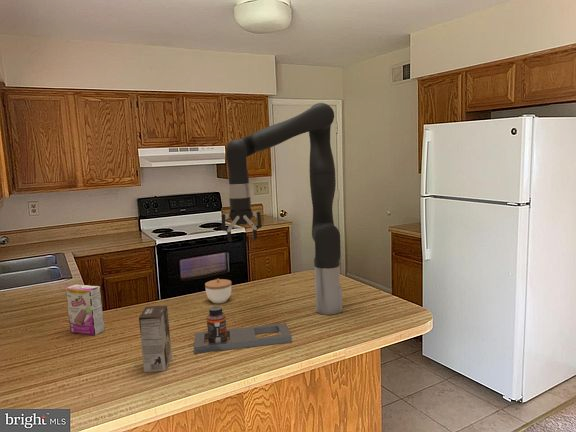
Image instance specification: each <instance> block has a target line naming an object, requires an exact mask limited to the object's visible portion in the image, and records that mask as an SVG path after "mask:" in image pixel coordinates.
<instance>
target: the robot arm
mask: <svg viewBox="0 0 576 432" xmlns="http://www.w3.org/2000/svg"><path fill="white" fill-rule="evenodd" d="M334 111H335V110H334V109H333V107H331V106H330V104H328V103H325V102H318V103H315V104H313V105H312V106H310V108H308V109H307V110H304V111H303V112H301V113H299V114H297V115H295V116H294V117H291V118H288V119H287V120H284V121H280V122H278V123H275V124H272V125H268V126H266V127H264V128H262V129H259V130H256V131H254V132H253V133H251V134H250V135H246V136H243V137H241V138H238V139H231V140H230V141H229V142H228V143H227V145H226V148H225V153H226V154H225V155H226V161H227V162H226V163H227V168H228V198H229V200H228V201H229V213H224V212H223V213H222V214H221V230H222V231H223V232H226V236H227V241H229V243H232V242H233V241H232V230H233V228H234V227H235V225H236V226H241V225H247V224H248V225H249V226H250V228H252V240H253V241H256V240H257V239H258V230H259V229H261V228H262V227H263V226H262V215H261V212H260V211H259V210H256V211H252V201H251V187H250V182H249V181H250V179H249V171H248V166H247V158H248V157H249V156H251V155H254V154H256V153H258V152H261V151H262V152H263V151H265V150H267V149H271V148H273V147H275V146H278V145H280V144H282V143H284V142H286V141H288V140H290V139H293V138H294V137H298V136H300V135H303V134H304V133H308V135H309V147H310V148H309V149H310V151H309V187H310V196H311V203H312V225H311V226H312V227H311V238H312V240H313V242H314V252H315V253H314V259H313V265H314V268H313V269H314V287H315V288H314V289H315V291H314V293H315V311H316V313H317V314H320V315H326V316H327V315H336V314H339V313H343V287H342V285H341V277H340V276H341V275H340V273H341V272H340V271H341V270H340V268H341V267H340V260H341V251H342V250H341V233H340V231H339V229H338V228H337V226H335V223H334V214H333V203H334V198H335V193H336V185H337V184H336V183H337V182H336V180H337V179H336V165H335V161H334V156H333V151H332V147H331V129H332V128H331V127H332V124H333V123H334V120H335V112H334ZM253 216H254V217H255V218H256V221H257V224H256V225H255V223H253V221H252V220H251V219H252V217H253ZM228 218H229V219H230V220H231V222H230V223H229V225H228V227H226V220H228Z"/></svg>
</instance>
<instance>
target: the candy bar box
mask: <svg viewBox="0 0 576 432" xmlns="http://www.w3.org/2000/svg"><path fill="white" fill-rule="evenodd" d="M64 289H65V298H66V305H67V307H66V308H67V313H68V321H69V330H70V333H72V334H73V333H74V334H81V335H88V336H89V335H90V336H97V334H98V335H99V334H101V333H103V332H104V331H105V330H106V329H105V321H104V311H103V303H102V296H101V295H102V293H101V286H99V285H86V284H77V283H76V284H74V285H73V284H72V285H70V286H67V287H65V288H64Z"/></svg>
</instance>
